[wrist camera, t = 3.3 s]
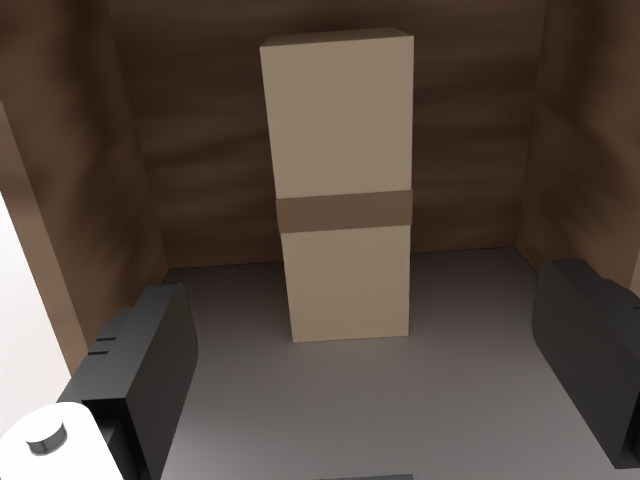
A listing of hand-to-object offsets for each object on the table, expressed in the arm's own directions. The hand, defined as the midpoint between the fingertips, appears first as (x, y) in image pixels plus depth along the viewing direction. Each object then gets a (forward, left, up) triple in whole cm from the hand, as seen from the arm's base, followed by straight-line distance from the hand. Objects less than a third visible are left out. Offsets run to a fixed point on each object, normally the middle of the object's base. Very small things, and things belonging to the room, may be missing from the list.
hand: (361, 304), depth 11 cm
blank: (+7, +8, -7) cm, 12 cm away
